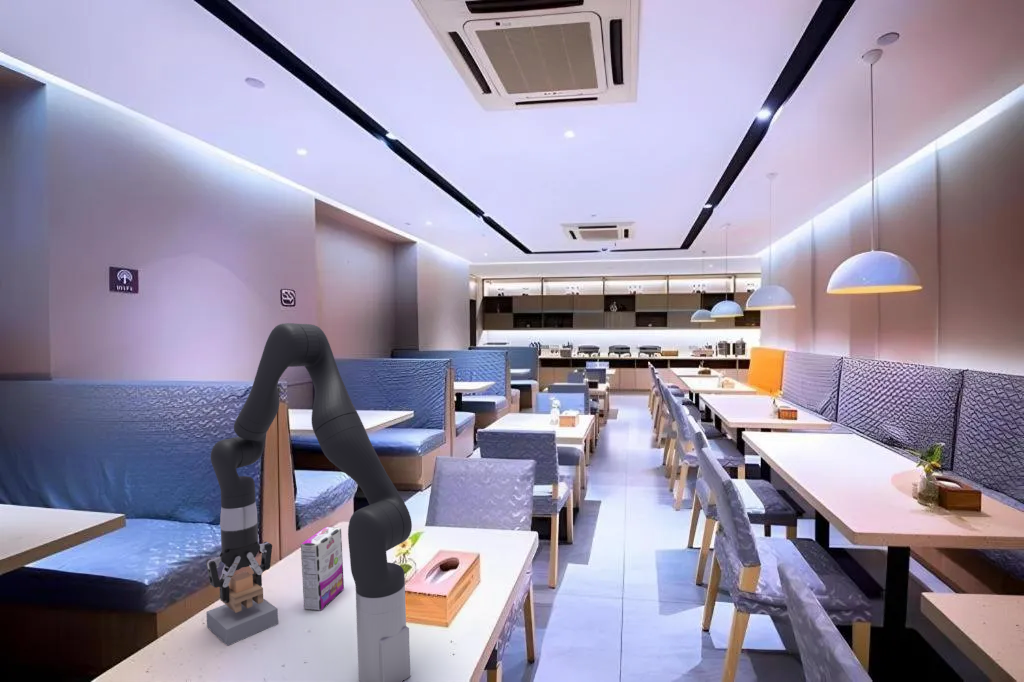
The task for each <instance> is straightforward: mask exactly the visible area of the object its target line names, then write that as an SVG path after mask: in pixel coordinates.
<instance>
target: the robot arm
mask: <svg viewBox="0 0 1024 682" xmlns="http://www.w3.org/2000/svg"><path fill="white" fill-rule="evenodd" d="M290 367H304V368H305V369H306V370H307V372H308V375H309V377H310V380H311V381H312V384H313V386H314V387H313V388H314V398H313V404H312V410H311V427H312V430H313V433H314V435H315V438H316V440H317V441H318V444H319V447H320V449H321V451H322V453H323V454H324V456H325V457H326V458H327V459H328V460H329V462H331V463H332V464H333V465H334V466H335V467H336V468H338V469H339V470H340V471H342V472H343V473H344V474H346V475H347V476H348V477H349V478H350V479H352V480H353V481H354V482H355V483H356V484H357V485H358V487H359V488H360V490H361V491H362V492H363V494H364V496H365V498H366V500H367V502H368V504H369V505H365V506H364V507H361V508H359V509H357V510H355V511H354V512H353V513H352V515H351V517H350V519H349V522H348V529H347V535H348V536H347V538H348V549H349V550H348V551H349V561H350V564H349V565H350V572H351V575H352V578H353V580H354V584H355V609H356V610H355V612H356V613H355V614H356V638H357V639H356V640H357V641H356V643H357V669H358V682H401V681H402V682H404V681H405V680H407V679H408V678H410V677H411V651H410V649H411V647H410V628H409V627H408V626H407V613H406V612H407V611H406V610H407V609H406V580H405V577H406V575H405V571H404V568H403V567H402V566H401V565H400V564H398V563H394V562H390V561H389V562H388V558H387V552H388V551H389V550H391V549H393V548H395V547H398V546H400V544H403V543H404V542H405V541H407V540H408V539H409V538H410V535H411V533H412V526H413V524H412V518H411V514H410V512H409V509H408V506H407V505H406V503H405V501H404V500H403V497H402V496H401V494H400V492H399V491H398V489H397V487H396V486H395V484H394V483H393V481H392V480H391V478H390V476H389V474H388V473H387V472H386V469H385V468H384V465H383V464H382V461H381V460H380V458H379V455H378V454H377V452H376V450H375V447H374V446H373V443H372V442H371V440H370V437H369V435H368V433H367V430H366V428H365V425H364V423H363V421H362V419H361V417H360V415H359V413H358V411H357V409H356V407H355V406H354V404H353V401H352V399H351V397H350V395H349V393H348V391H347V388H346V385H345V383H344V381H343V379H342V376H341V373H340V372H339V368H338V365H337V361H336V360H335V356H334V354H333V350H332V347H331V345H330V342H329V339H328V337H327V335H326V333H324V331H323V330H322V329H321V328H320V327H319V326H317V325H315V324H309V323H294V322H293V323H291V322H288V323H287V322H286V323H280V324H277V325H276V326H275V327H274V328H273V329H272V330H271V332H270V333H269V335H268V337H267V340H266V342H265V345H264V347H263V351H262V354H261V358H260V360H259V363H258V367H257V370H256V373H255V375H254V381H253V384H252V386H251V389H250V392H249V394H248V396H247V397H246V398H247V399H246V400H245V403H244V404H243V406H242V407H241V410H240V412H239V414H238V415H237V417H236V419H235V422H234V423H233V431H234V433H235V435H237V436H236V437H231V438H225V439H222V440H219V441H217V442H216V443H215V444H214V445H213V447H212V449H211V452H210V463H211V466H212V468H213V472H214V473H215V477H216V480H217V482H218V485H219V488H220V508H221V510H220V516H219V517H220V520H219V521H220V522H219V528H220V545H221V546H220V547H221V551H220V554H219V556H217V557H215V558H212V559H211V558H208V559H207V560H205V561H206V562H205V564H206V565H205V566H206V570H207V575H208V579H209V584H210V585H211V586H212V587H213V588H215V589H217V588H219V599H221V600H222V601H223V602H225V603H228V602H229V586H228V584H229V582H230V579H231V577H232V576H233V575H235V572H236V571H239V570H241V569H243V568H247V567H249V568H250V569H251V570H252V574H251V575H252V576H253V582H255V583H256V584H258V585H259V586H261V587H262V586H263V579H262V578H263V577H262V575H263V572H265V571H268V570H270V568H271V561H272V552H273V544H272V543H271V542H268V541H264V542H263V543H259V532H258V531H259V530H258V529H259V528H258V525H259V524H258V509H257V502H256V483H255V479H254V478H253V477H251V476H248V475H247V476H246V475H244V476H243V475H239V474H238V472H237V471H238V470H237V469H240V468H243V467H247V466H251V465H253V464H255V463H256V462H257V461H258V460H259V459H260V458H261V457H262V455H263V453H264V448H265V444H266V437H267V432H268V431H269V429H270V427H271V426H272V424H273V422H274V420H275V418H276V417H277V415H278V412H279V408H280V396H279V390H278V388H279V387H278V386H279V381H280V378H281V377H282V376H283V374H284V373H285V372H286V370H287V369H288V368H290ZM259 551H260V552H261V557H260V558H261V559H260V564H259V562H258V561H257V560H256V556H257V555H258V553H259ZM221 562H222V563H223V564H224V565H223V568H222V571H221V574H220V577H219V573H218V568H219V567H220V564H221ZM221 600H220V601H221ZM222 601H221V602H222ZM223 602H222V603H223ZM403 680H404V681H403Z"/></svg>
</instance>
